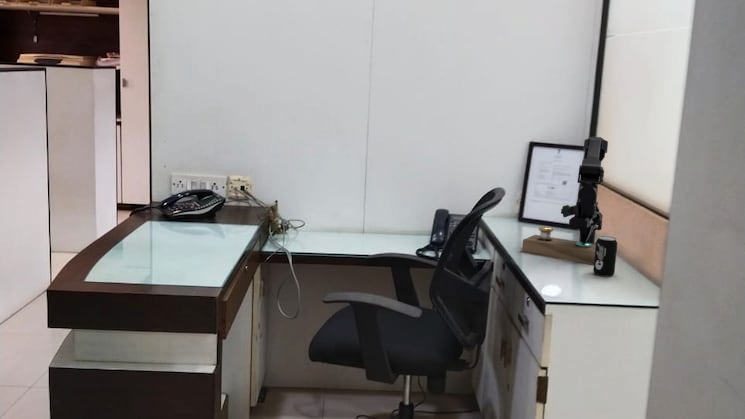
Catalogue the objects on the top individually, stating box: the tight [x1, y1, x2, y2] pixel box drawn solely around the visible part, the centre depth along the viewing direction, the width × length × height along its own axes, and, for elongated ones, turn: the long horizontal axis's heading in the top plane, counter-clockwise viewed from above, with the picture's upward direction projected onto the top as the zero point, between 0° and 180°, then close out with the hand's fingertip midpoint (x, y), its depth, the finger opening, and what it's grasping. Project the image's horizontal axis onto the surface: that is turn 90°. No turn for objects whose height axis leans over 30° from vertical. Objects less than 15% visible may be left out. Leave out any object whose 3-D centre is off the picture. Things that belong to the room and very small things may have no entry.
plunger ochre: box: [538, 225, 554, 242], centre depth 265 cm, size 5×5×5 cm
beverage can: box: [592, 235, 618, 277], centre depth 238 cm, size 7×7×12 cm
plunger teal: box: [576, 242, 591, 248], centre depth 258 cm, size 5×5×5 cm
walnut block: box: [521, 234, 596, 266], centre depth 262 cm, size 12×26×4 cm, turn 57°
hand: (583, 243), depth 258 cm, fingers closed, pressing on plunger teal
